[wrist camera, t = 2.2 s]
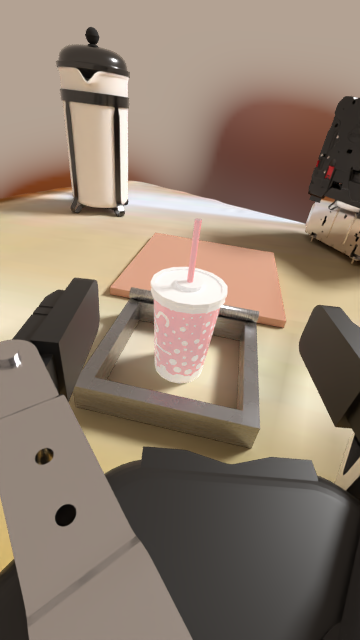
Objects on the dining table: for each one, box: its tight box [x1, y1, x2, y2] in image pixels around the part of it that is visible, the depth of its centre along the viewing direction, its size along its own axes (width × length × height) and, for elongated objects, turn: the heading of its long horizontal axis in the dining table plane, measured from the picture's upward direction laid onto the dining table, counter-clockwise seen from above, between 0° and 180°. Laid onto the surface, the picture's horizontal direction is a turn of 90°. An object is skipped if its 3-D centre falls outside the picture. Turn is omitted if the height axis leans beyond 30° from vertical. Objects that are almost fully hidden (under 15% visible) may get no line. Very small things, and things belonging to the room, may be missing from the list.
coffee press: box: [56, 27, 130, 216], centre depth 59 cm, size 17×16×30 cm
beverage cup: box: [151, 219, 227, 383], centre depth 24 cm, size 6×6×14 cm
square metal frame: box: [73, 287, 260, 448], centre depth 27 cm, size 14×14×4 cm
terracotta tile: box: [110, 233, 286, 328], centre depth 45 cm, size 22×22×1 cm
